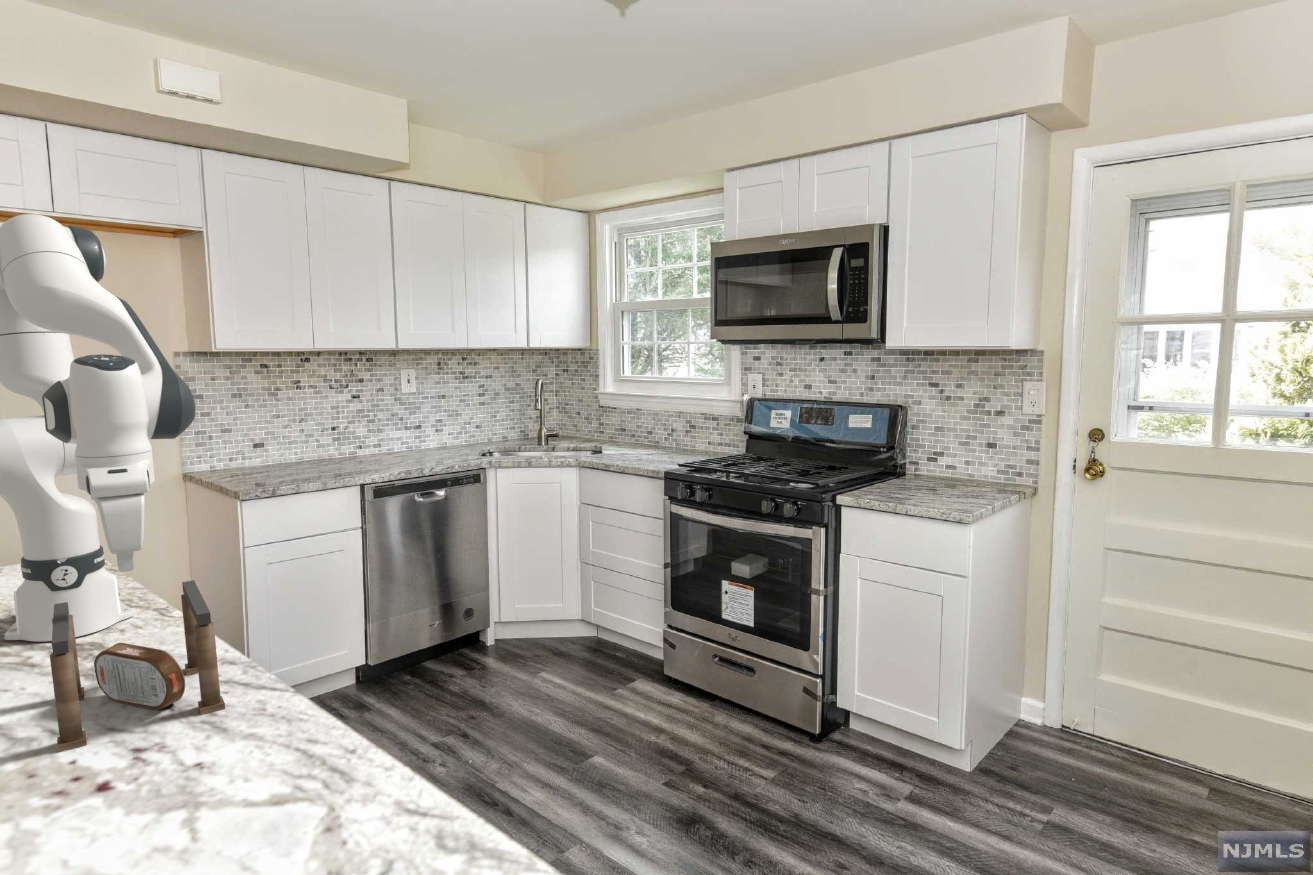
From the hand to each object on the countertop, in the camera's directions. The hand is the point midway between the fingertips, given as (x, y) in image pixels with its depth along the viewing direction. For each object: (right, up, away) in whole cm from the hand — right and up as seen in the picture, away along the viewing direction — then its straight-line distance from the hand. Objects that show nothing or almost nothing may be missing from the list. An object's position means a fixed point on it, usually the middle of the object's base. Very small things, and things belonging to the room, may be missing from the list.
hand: (126, 568), depth 110 cm
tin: (0, -20, +3) cm, 20 cm away
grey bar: (-6, -8, -4) cm, 11 cm away
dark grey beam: (+7, -7, +6) cm, 11 cm away
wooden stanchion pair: (0, -20, +3) cm, 20 cm away
